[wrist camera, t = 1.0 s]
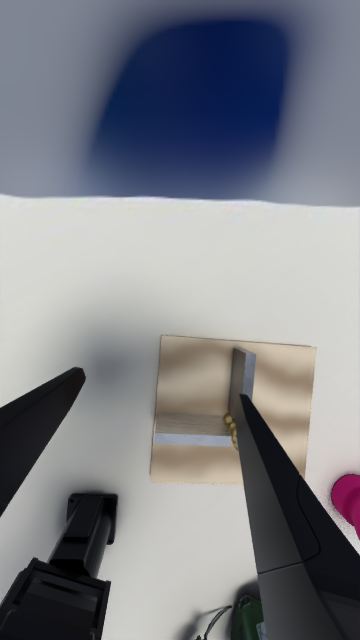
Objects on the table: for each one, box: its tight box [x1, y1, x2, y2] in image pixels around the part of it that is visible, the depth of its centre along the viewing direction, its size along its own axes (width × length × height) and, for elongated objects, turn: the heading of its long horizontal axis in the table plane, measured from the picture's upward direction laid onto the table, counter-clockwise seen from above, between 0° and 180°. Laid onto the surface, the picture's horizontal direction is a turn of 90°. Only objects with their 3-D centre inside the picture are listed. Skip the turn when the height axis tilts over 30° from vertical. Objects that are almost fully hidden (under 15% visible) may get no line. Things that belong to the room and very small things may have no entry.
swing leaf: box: [227, 348, 256, 433], centre depth 21 cm, size 11×2×4 cm, turn 175°
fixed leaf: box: [154, 412, 238, 451], centre depth 20 cm, size 11×2×4 cm, turn 85°
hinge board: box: [150, 335, 316, 485], centre depth 23 cm, size 20×22×1 cm
